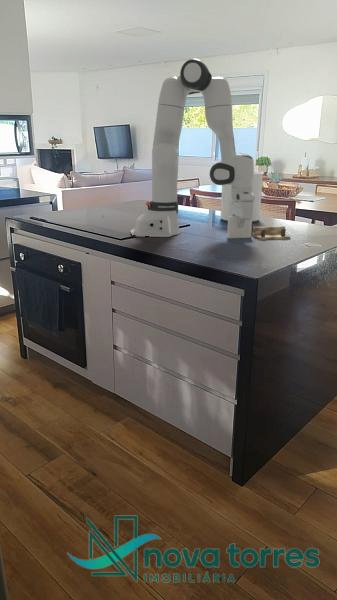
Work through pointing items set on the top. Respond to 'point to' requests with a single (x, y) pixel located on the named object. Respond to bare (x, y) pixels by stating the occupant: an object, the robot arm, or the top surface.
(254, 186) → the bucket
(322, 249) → the top surface
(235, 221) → the white rectangular block
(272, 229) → the tan pegged board
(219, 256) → the top surface
